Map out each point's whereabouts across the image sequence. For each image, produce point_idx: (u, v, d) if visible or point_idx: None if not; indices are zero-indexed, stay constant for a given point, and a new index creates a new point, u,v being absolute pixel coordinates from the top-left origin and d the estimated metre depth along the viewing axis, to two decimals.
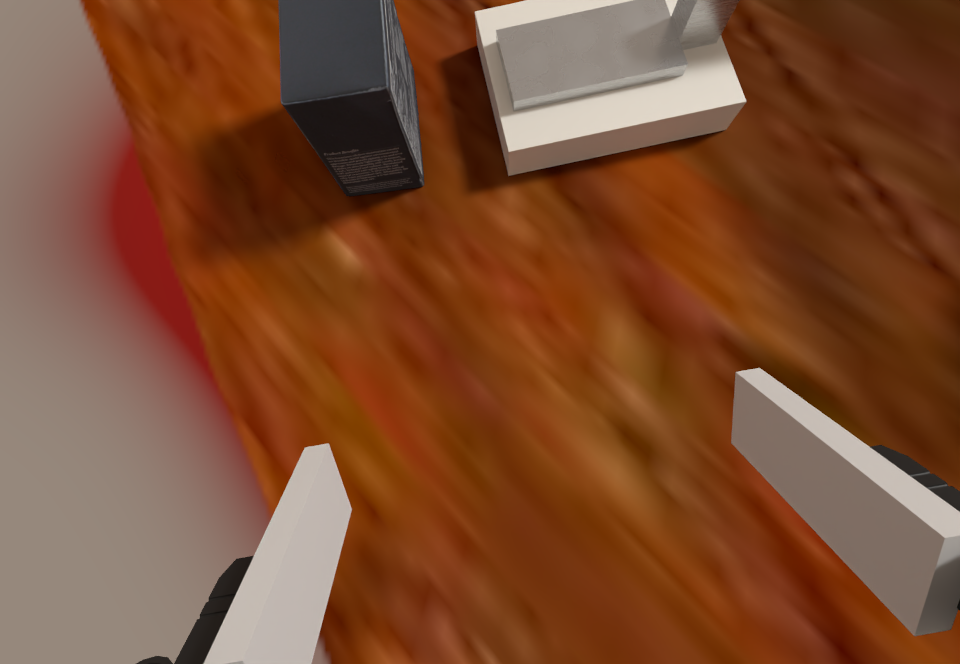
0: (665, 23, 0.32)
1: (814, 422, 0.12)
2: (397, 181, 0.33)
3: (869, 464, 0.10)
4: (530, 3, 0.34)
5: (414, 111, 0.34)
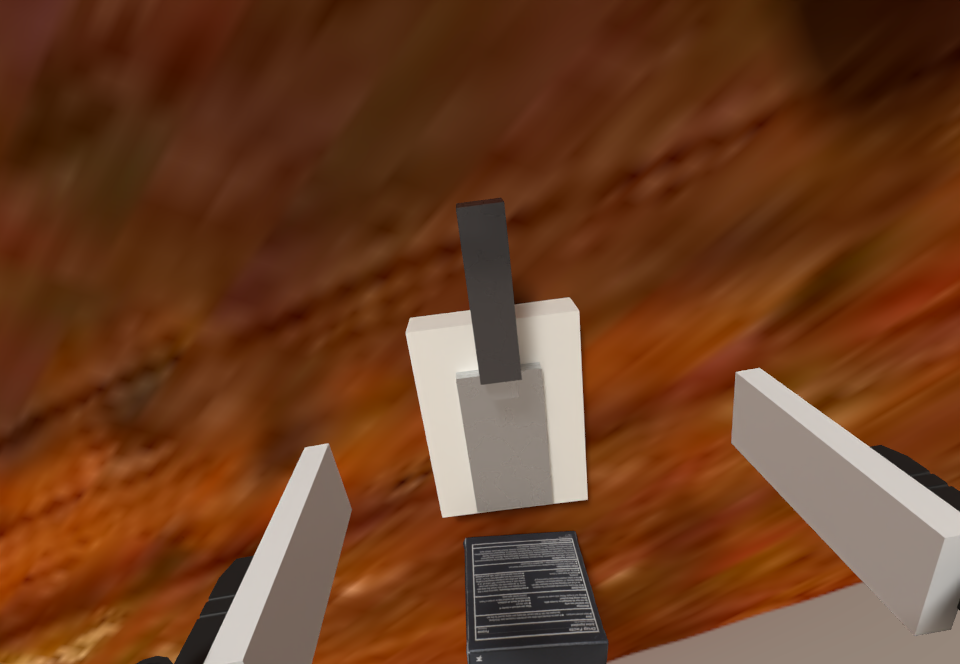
0: None
1: (814, 422, 0.12)
2: None
3: (869, 464, 0.10)
4: (438, 476, 0.36)
5: (525, 550, 0.41)
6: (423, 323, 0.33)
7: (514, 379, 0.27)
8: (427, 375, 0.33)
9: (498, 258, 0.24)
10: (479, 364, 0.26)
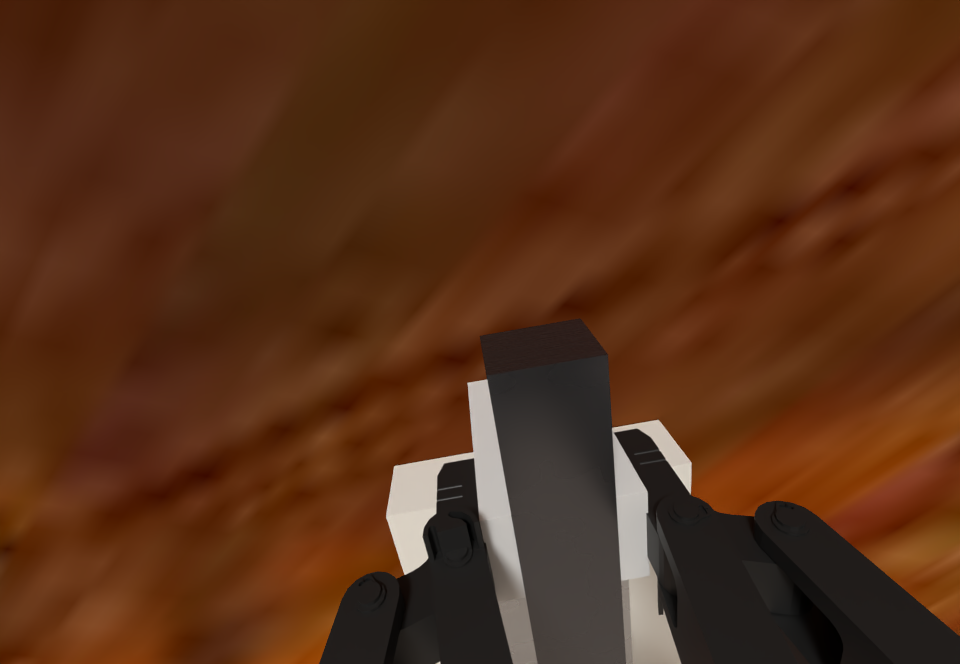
0: None
1: None
2: None
3: None
4: None
5: None
6: (417, 486, 0.19)
7: None
8: None
9: (588, 472, 0.10)
10: (540, 657, 0.12)
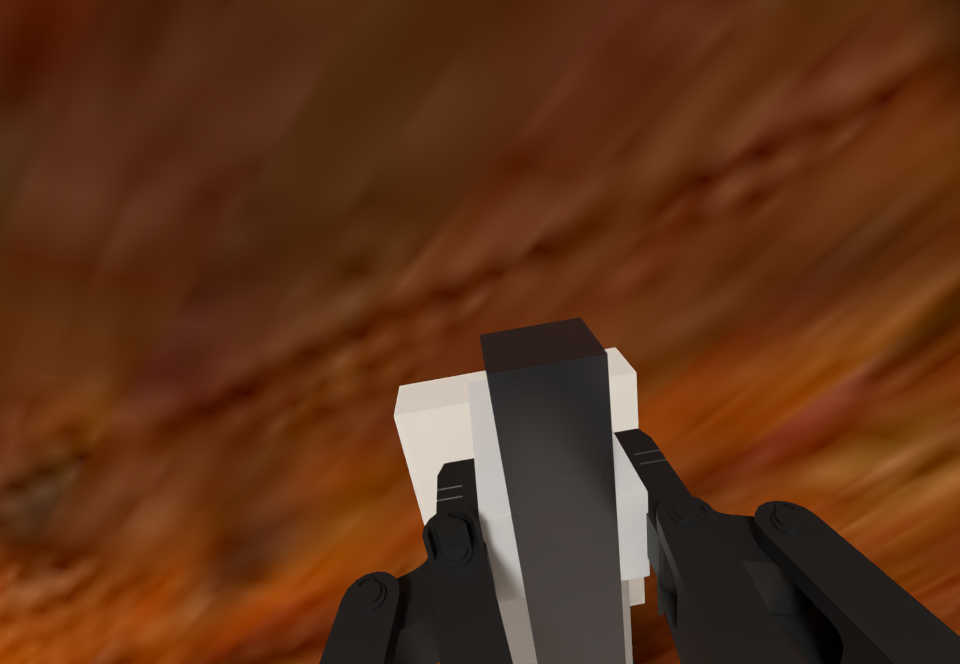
0: None
1: None
2: None
3: None
4: None
5: None
6: (418, 397, 0.24)
7: None
8: (427, 468, 0.24)
9: (588, 471, 0.10)
10: (540, 656, 0.12)
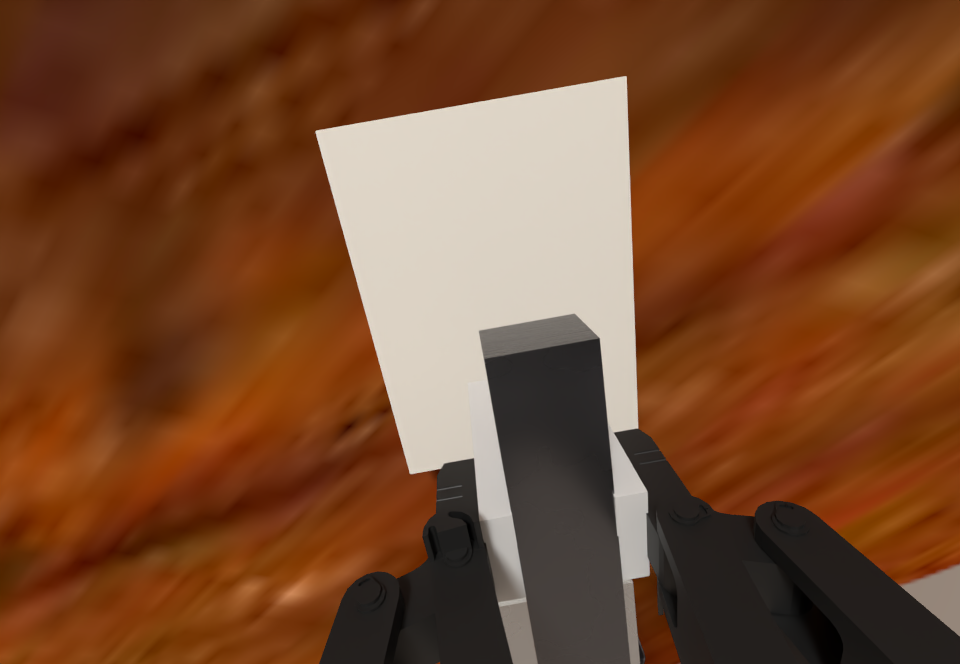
0: None
1: None
2: None
3: None
4: (398, 405, 0.22)
5: None
6: None
7: None
8: (363, 217, 0.19)
9: (585, 459, 0.10)
10: None
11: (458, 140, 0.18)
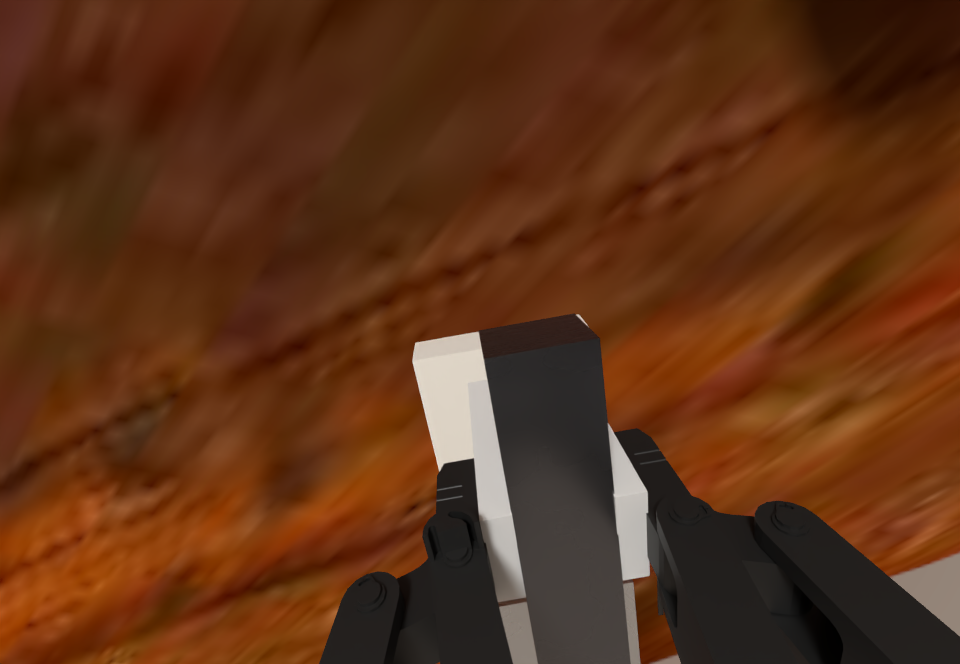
0: None
1: None
2: None
3: None
4: None
5: None
6: (430, 349, 0.32)
7: None
8: (436, 402, 0.32)
9: (584, 459, 0.10)
10: None
11: None
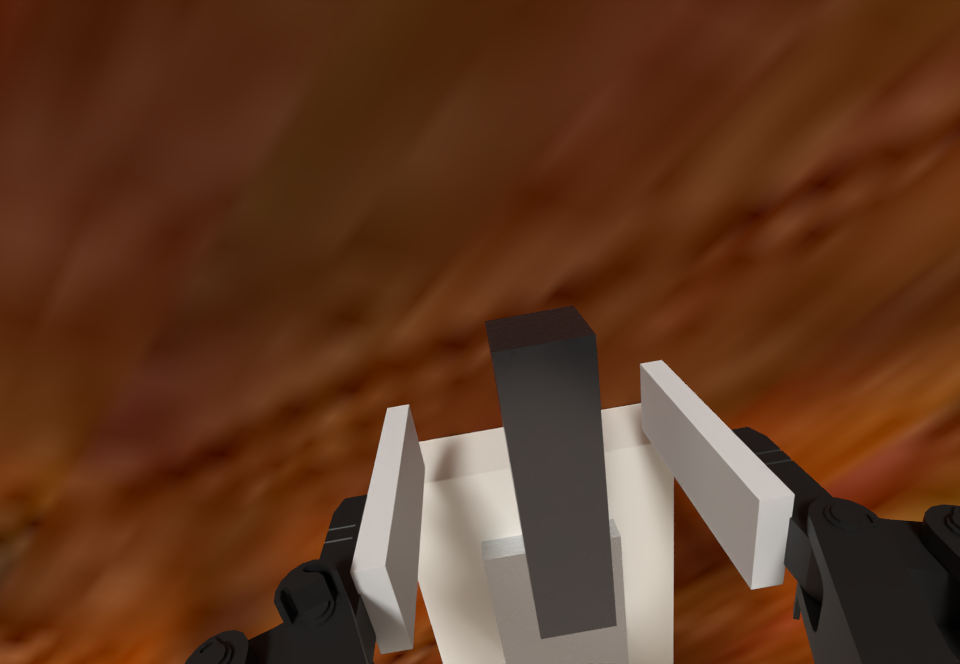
0: None
1: (690, 407, 0.13)
2: None
3: (722, 442, 0.11)
4: None
5: None
6: None
7: (602, 624, 0.14)
8: (429, 545, 0.20)
9: (580, 438, 0.12)
10: (539, 609, 0.14)
11: None
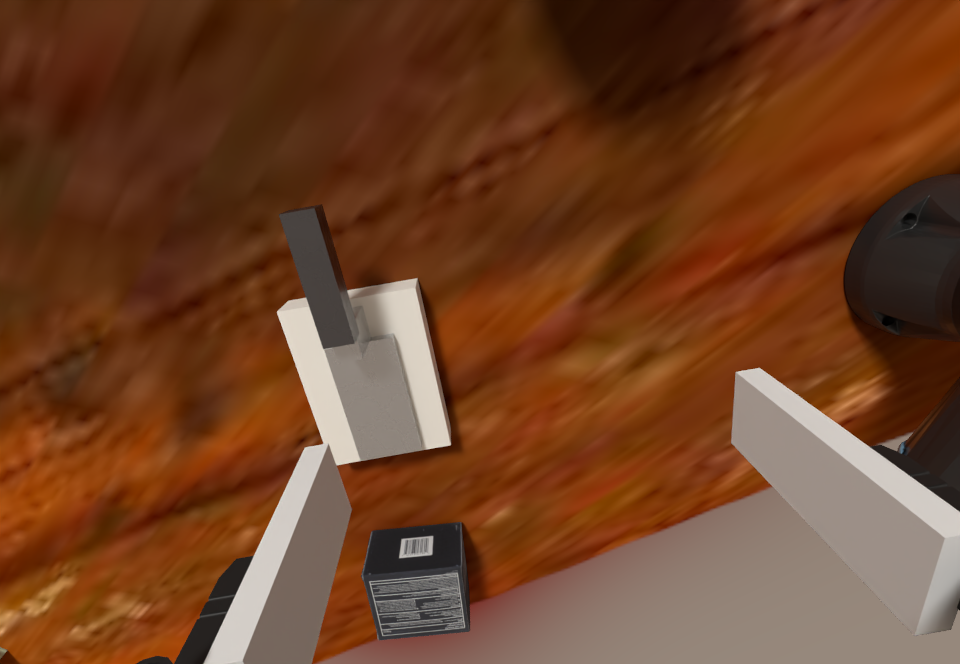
0: None
1: (814, 422, 0.12)
2: (462, 560, 0.49)
3: (869, 464, 0.10)
4: (322, 431, 0.44)
5: (415, 584, 0.48)
6: (295, 304, 0.40)
7: (349, 344, 0.34)
8: (300, 346, 0.40)
9: (318, 250, 0.32)
10: (319, 333, 0.34)
11: None
